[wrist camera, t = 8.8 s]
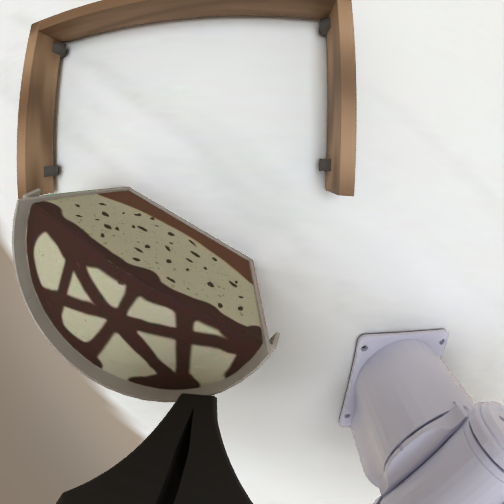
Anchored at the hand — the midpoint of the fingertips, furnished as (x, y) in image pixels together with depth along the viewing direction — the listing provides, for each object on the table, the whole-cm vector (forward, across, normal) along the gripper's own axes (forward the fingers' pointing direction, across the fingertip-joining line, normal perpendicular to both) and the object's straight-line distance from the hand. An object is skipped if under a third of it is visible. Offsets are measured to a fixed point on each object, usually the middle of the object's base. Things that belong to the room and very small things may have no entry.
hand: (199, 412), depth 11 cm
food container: (+11, +4, -3) cm, 12 cm away
